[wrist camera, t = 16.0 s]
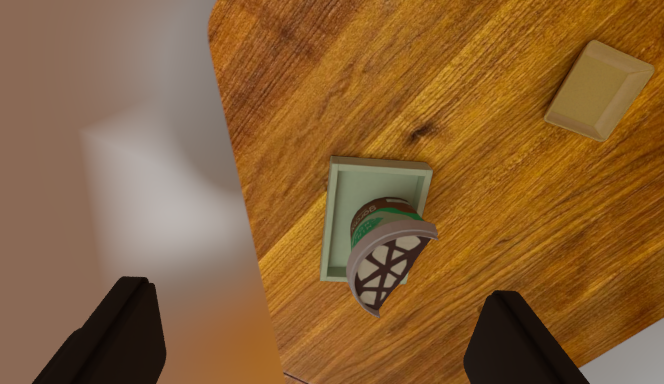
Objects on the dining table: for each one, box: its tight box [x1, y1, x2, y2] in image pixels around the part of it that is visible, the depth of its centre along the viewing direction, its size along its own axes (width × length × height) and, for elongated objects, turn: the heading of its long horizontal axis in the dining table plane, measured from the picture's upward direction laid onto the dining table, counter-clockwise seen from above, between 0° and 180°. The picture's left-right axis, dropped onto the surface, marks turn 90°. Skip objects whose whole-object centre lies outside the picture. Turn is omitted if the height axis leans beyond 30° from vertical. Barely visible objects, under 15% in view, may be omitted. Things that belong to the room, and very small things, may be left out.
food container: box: [346, 197, 438, 318], centre depth 38 cm, size 12×6×10 cm, turn 153°
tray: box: [320, 156, 433, 284], centre depth 42 cm, size 12×17×3 cm
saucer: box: [544, 40, 654, 142], centre depth 37 cm, size 9×9×2 cm
